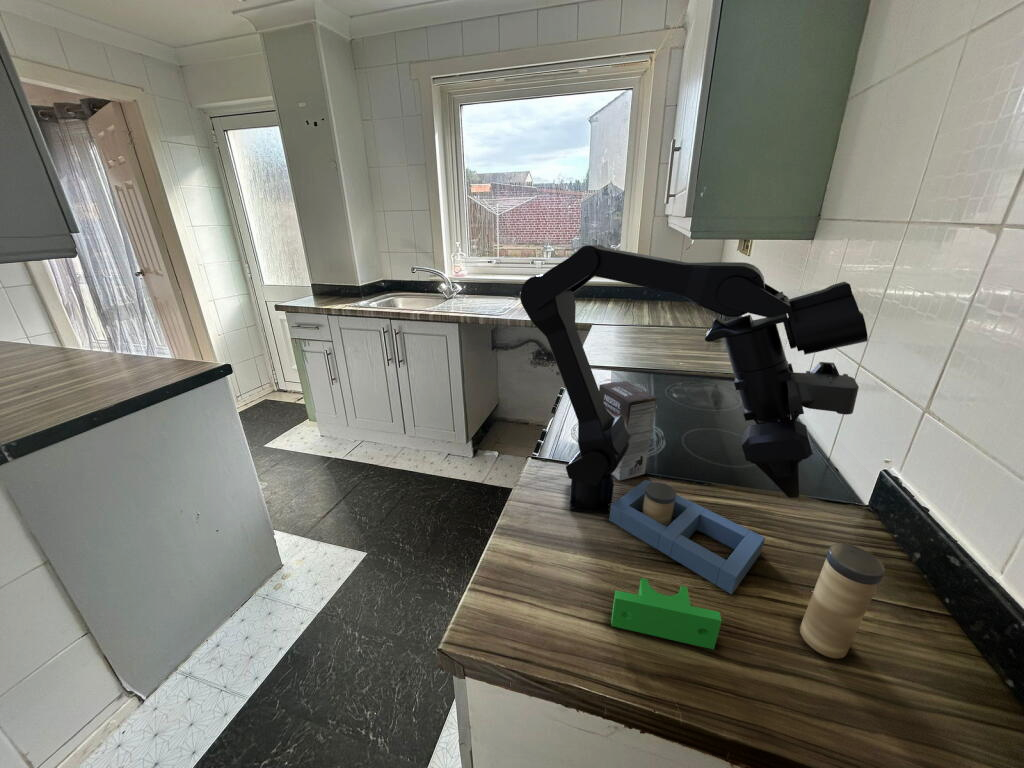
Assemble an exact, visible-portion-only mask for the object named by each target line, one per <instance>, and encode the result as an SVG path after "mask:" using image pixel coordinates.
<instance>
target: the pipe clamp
mask: <svg viewBox="0 0 1024 768" xmlns="http://www.w3.org/2000/svg"><path fill="white" fill-rule="evenodd" d="M722 621H723V620H722V617H721V612H720V611H717V610H712V609H708V608H703V607H697V606H693V605H691V600H690V596H689V590H688V586H685V585H680V587H679V591H678V592H677V593H676V594H673V595H666V594H663V593H660V592H658V591H656V590H655V589H653V587H652V586H651V585H650V583H649V580H648V578H643V577H640V581H639V588H638V594H635V593H631V592H626V591H621V590H617V589H616V590H615V591H614V596H613V604H612V611H611V624H610V625H611V627H614V628H617V629H618V628H619V629H623V630H626V631H631V632H635V633H639V634H644V635H648V636H652V637H656V638H657V637H658V638H662V639H666V640H671V641H675V642H678V643H679V642H680V643H683V644H687V645H692V646H696V647H701V648H705V649H710V650H715V647H716V644H717V640H718V637H719V633H720V630H721V625H722Z"/></svg>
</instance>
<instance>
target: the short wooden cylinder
mask: <svg viewBox="0 0 1024 768" xmlns="http://www.w3.org/2000/svg"><path fill="white" fill-rule="evenodd" d="M676 494H677V492H676V489H674V487H672V486H670V485H669V484H667V483H663V482H659V481H656V482H655V481H654V482H652V483H649V484H648V485H647V486H646V488H645V497H644V503H643V508H642V509H641V513H643V514H645V515H646V516H648V517H650V518H652V519H654V520H655V521H657V522H659V523H661V524H663V525H664V526H666V527H668V526H669V525H670V524H671V523H672V518H673V517H672V513H673V508H674V503H675V499H676Z"/></svg>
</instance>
